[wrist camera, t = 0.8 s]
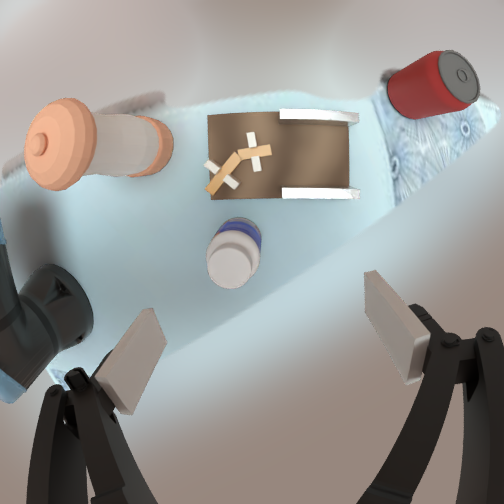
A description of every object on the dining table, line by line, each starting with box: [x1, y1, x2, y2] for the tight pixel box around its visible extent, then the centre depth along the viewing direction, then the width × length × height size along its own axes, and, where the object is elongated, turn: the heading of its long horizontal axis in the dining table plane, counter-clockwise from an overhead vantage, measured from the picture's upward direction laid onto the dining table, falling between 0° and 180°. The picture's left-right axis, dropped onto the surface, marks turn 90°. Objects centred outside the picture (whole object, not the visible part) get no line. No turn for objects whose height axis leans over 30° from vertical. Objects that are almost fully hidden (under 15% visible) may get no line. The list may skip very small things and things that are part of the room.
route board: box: [207, 112, 349, 200], centre depth 29 cm, size 16×10×1 cm, turn 92°
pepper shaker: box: [24, 98, 173, 191], centre depth 21 cm, size 7×7×19 cm
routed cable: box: [204, 132, 272, 195], centre depth 28 cm, size 8×7×2 cm
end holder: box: [279, 109, 360, 199], centre depth 27 cm, size 8×9×4 cm
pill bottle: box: [206, 218, 261, 289], centre depth 29 cm, size 5×5×10 cm
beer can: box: [388, 50, 480, 119], centre depth 20 cm, size 7×7×12 cm
